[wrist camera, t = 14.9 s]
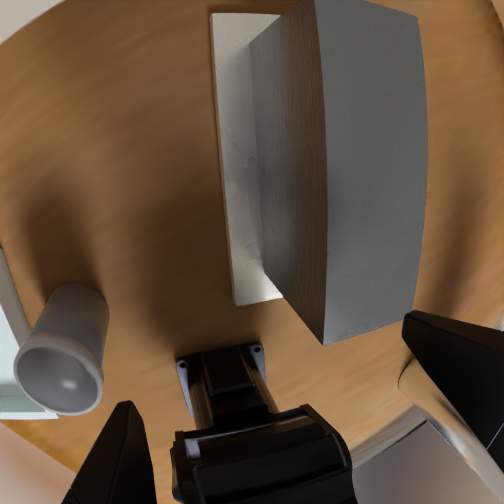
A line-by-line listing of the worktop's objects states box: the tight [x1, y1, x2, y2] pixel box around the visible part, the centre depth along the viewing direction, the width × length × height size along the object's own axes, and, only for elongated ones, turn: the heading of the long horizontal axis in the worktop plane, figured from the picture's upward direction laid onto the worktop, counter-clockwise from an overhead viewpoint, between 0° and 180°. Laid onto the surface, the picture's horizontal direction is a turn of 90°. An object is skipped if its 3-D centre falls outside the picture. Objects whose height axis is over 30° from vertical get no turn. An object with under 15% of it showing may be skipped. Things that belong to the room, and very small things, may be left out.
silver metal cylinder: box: [398, 358, 504, 504], centre depth 21 cm, size 6×6×25 cm
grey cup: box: [13, 282, 109, 416], centre depth 16 cm, size 5×5×7 cm
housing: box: [209, 0, 428, 346], centre depth 15 cm, size 18×9×9 cm, turn 4°
